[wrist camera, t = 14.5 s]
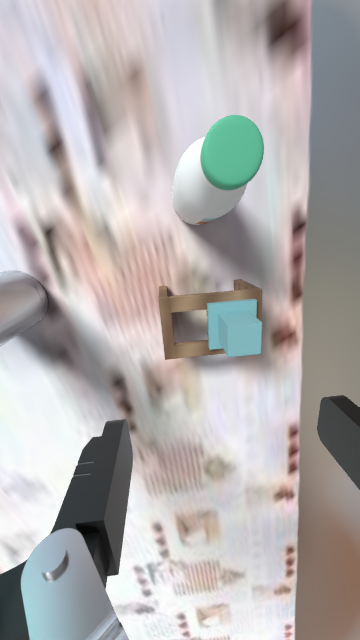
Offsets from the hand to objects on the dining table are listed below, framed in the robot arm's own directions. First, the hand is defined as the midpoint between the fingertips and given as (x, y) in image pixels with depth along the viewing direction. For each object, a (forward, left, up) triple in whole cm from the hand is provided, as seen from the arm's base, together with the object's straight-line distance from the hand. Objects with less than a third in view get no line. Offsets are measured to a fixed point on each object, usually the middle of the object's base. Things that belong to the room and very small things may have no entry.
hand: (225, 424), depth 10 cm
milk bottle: (+4, +13, -32) cm, 35 cm away
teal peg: (+7, -4, -27) cm, 28 cm away
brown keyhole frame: (+4, -4, -32) cm, 33 cm away
